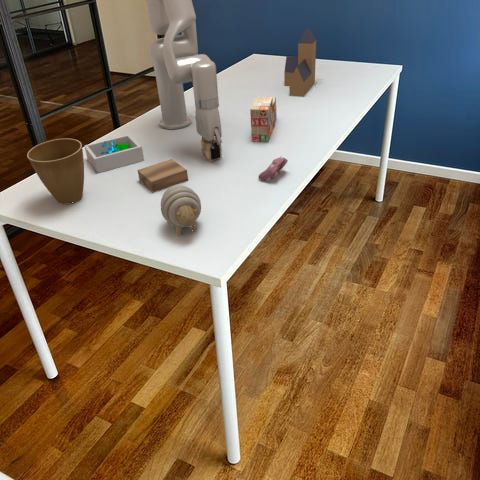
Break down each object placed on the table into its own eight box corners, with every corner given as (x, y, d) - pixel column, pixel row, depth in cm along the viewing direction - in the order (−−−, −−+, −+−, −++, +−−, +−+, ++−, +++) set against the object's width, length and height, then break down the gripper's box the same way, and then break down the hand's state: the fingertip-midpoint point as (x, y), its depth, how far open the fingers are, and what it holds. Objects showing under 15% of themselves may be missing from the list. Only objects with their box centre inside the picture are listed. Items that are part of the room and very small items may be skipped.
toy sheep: (173, 246, 121) (167, 208, 115) (155, 215, 134) (148, 179, 128) (213, 234, 125) (209, 197, 118) (191, 205, 137) (186, 170, 131)
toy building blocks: (314, 83, 221) (316, 24, 206) (303, 97, 207) (304, 35, 192) (288, 81, 225) (288, 24, 211) (275, 95, 211) (274, 34, 197)
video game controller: (268, 187, 146) (277, 171, 141) (256, 178, 147) (264, 162, 142) (283, 174, 153) (292, 157, 148) (271, 165, 154) (280, 149, 149)
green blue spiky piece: (109, 161, 159) (100, 139, 159) (98, 169, 164) (89, 148, 164) (137, 157, 168) (128, 137, 168) (125, 165, 173) (117, 145, 173)
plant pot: (55, 186, 152) (41, 138, 143) (101, 186, 150) (89, 138, 141) (34, 211, 140) (16, 160, 130) (84, 211, 138) (69, 160, 129)
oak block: (202, 156, 164) (200, 139, 160) (215, 152, 166) (213, 136, 162) (208, 161, 160) (207, 144, 157) (222, 157, 162) (220, 141, 158)
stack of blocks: (260, 120, 188) (259, 88, 181) (276, 120, 187) (276, 88, 180) (251, 142, 171) (249, 108, 164) (269, 143, 170) (268, 108, 163)
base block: (139, 181, 152) (137, 170, 150) (173, 170, 157) (171, 158, 155) (153, 193, 145) (151, 181, 143) (188, 181, 150) (187, 169, 148)
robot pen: (87, 159, 167) (84, 145, 164) (131, 147, 173) (129, 134, 170) (97, 173, 158) (94, 159, 155) (144, 160, 164) (141, 146, 161)
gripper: (184, 97, 157) (191, 149, 167) (208, 112, 144) (213, 167, 155) (205, 92, 160) (210, 144, 170) (230, 107, 147) (234, 161, 158)
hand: (212, 154), depth 162 cm, fingers closed on oak block, 5 cm apart
